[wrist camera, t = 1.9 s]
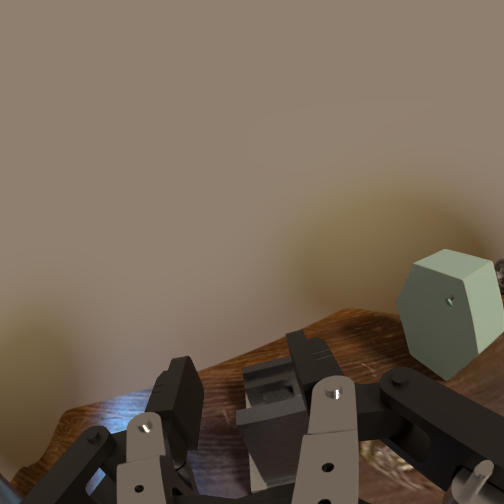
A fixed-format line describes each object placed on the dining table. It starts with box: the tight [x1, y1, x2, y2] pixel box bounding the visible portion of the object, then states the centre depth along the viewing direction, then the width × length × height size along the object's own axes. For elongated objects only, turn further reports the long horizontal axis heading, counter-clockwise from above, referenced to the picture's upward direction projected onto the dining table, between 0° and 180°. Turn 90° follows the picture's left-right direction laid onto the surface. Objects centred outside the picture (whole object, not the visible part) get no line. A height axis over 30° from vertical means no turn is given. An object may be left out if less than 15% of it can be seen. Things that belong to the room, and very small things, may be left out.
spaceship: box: [494, 258, 504, 293], centre depth 46 cm, size 8×35×8 cm
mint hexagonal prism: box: [396, 249, 504, 381], centre depth 36 cm, size 17×8×21 cm
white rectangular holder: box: [242, 356, 302, 494], centre depth 30 cm, size 18×9×10 cm, turn 3°
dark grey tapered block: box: [236, 396, 309, 483], centre depth 26 cm, size 11×6×10 cm, turn 3°
